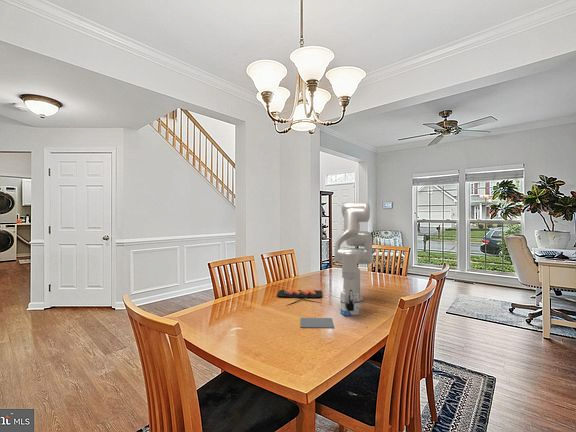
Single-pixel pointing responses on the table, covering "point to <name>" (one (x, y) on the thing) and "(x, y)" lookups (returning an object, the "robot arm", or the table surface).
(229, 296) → the table surface
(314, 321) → the mat
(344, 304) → the ink box
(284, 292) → the sushi plate
